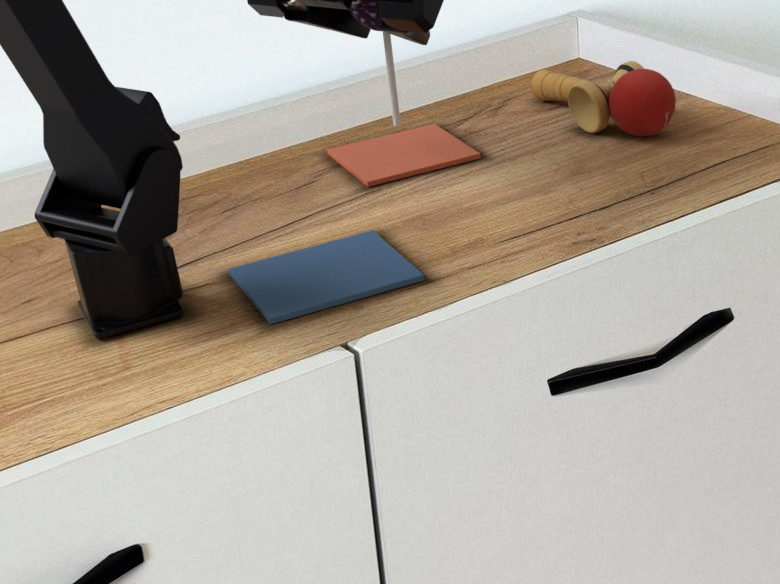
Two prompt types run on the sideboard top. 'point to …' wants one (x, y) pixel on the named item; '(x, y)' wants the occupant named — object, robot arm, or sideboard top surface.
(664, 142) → the sideboard top surface
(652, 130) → the kendama
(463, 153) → the terracotta pad
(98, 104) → the robot arm
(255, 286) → the slate pad
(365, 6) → the lollipop
